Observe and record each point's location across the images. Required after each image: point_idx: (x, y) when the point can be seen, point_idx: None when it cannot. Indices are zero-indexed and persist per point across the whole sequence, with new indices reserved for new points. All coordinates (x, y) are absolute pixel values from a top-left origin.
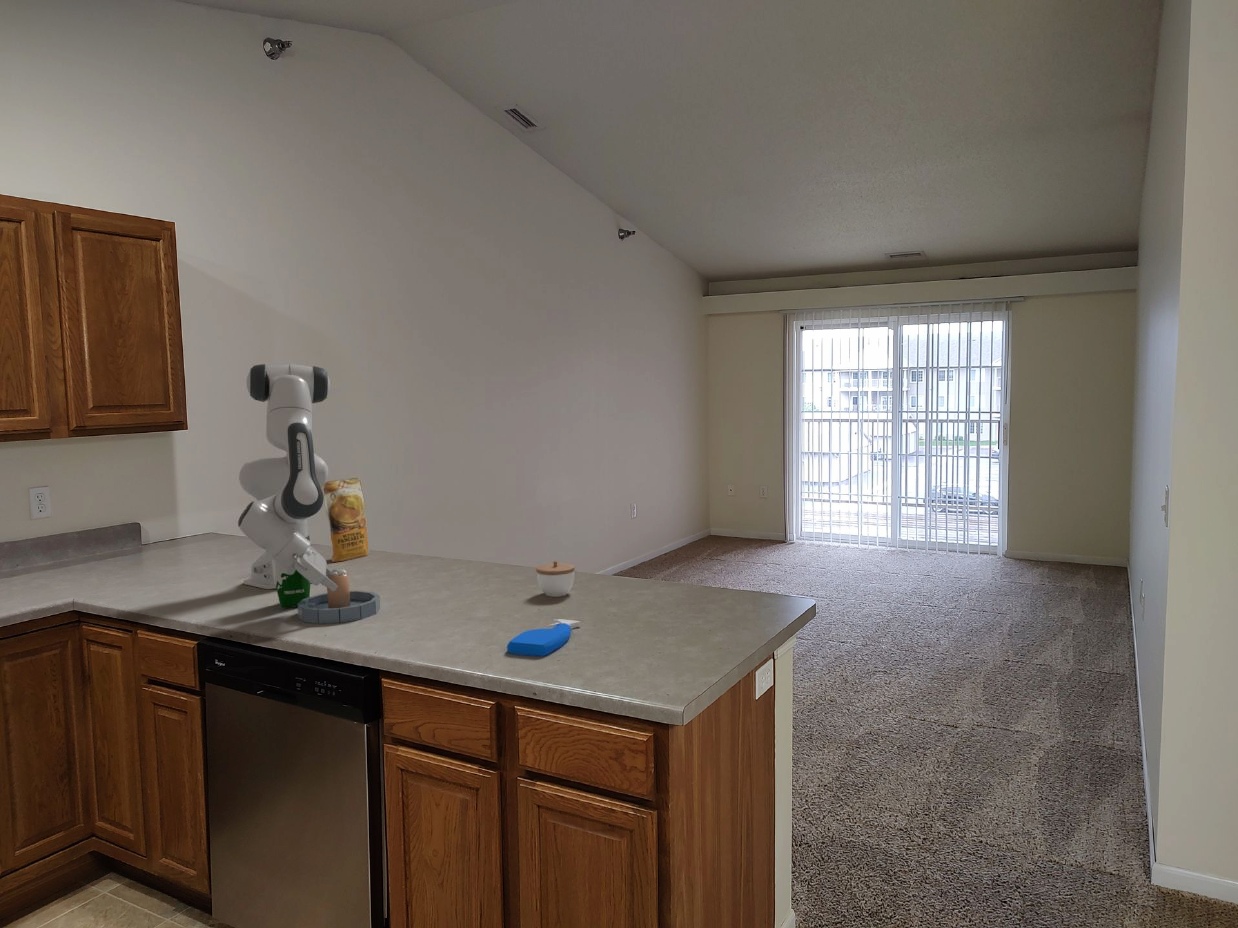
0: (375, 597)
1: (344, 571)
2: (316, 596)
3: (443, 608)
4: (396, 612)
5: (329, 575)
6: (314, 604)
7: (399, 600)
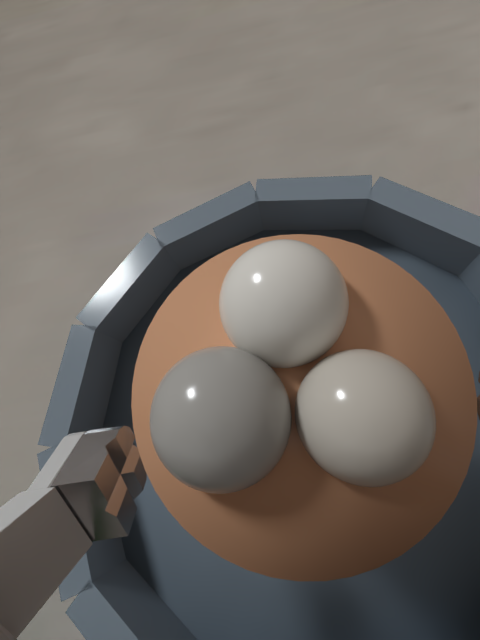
0: (291, 191)
1: (316, 249)
2: (128, 625)
3: (323, 13)
4: (352, 146)
5: (306, 516)
6: (171, 615)
7: (142, 179)
